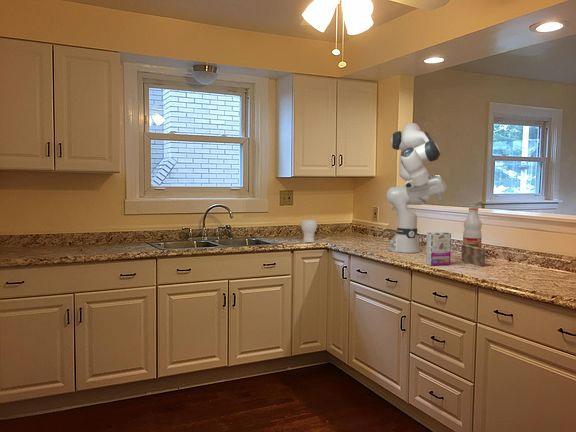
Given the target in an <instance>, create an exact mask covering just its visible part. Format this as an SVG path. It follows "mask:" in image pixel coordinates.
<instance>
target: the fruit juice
mask: <svg viewBox="0 0 576 432" xmlns="http://www.w3.org/2000/svg"><path fill="white" fill-rule="evenodd" d="M478 212H479V208H478V207H468V215H467V217H466V219H465V220H464V223H463V227H464V230H463V232H462V233H463V235H462V244H467V245H471V246H476V247H480V248H482V238H483V235H482V230H481V229H482V227H483V226H482V225H483V223H482V221H481V219H480V217H479V213H478Z"/></svg>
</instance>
